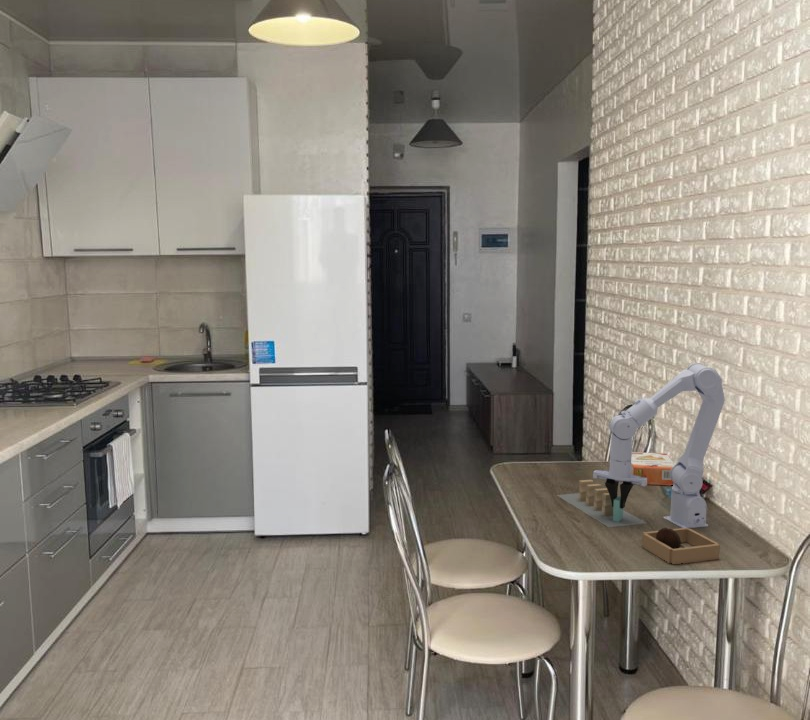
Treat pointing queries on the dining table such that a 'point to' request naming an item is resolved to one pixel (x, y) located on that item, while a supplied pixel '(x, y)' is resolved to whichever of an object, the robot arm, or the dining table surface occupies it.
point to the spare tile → (617, 510)
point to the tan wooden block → (599, 498)
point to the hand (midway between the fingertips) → (618, 506)
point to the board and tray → (700, 551)
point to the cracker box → (652, 467)
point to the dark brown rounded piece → (669, 538)
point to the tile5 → (583, 489)
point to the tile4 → (591, 493)
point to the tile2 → (607, 505)
